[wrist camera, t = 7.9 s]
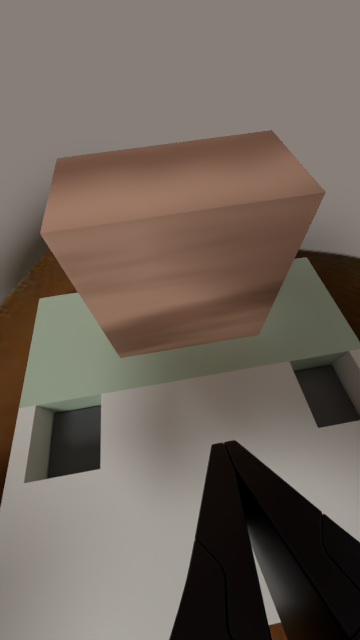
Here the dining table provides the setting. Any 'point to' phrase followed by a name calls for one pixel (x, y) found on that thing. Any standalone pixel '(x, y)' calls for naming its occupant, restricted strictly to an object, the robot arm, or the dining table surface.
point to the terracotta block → (180, 236)
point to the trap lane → (162, 457)
